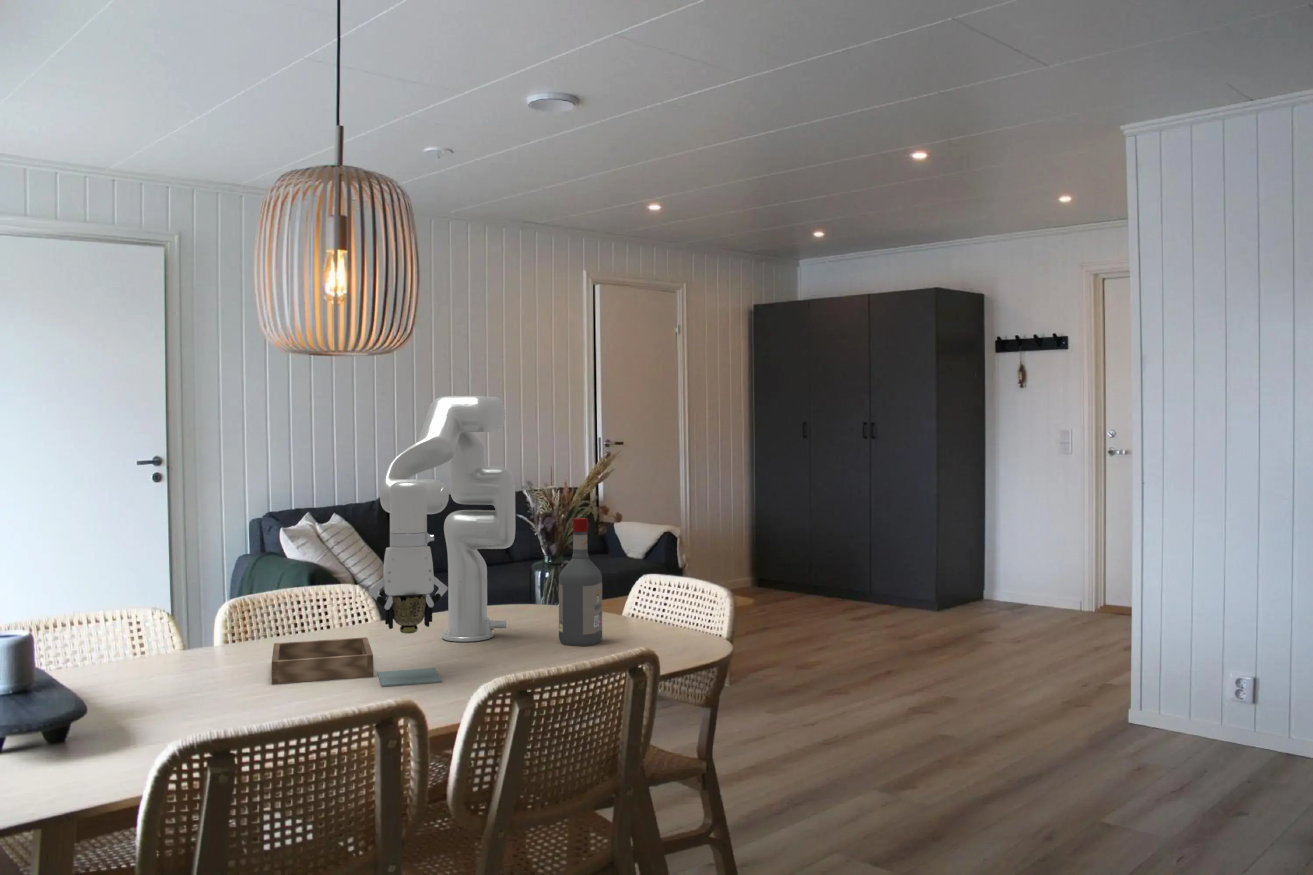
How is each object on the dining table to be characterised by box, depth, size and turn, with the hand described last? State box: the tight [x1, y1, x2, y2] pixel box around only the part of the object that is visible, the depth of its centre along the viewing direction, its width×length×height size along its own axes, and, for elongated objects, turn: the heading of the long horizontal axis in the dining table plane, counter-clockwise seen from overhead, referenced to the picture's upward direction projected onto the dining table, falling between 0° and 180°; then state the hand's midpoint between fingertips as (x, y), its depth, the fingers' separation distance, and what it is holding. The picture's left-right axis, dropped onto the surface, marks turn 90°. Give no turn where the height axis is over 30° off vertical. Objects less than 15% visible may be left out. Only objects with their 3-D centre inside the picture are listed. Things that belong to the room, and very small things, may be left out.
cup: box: [391, 595, 426, 635], centre depth 219 cm, size 8×7×8 cm
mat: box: [377, 667, 443, 688], centre depth 220 cm, size 12×12×1 cm
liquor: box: [558, 517, 603, 647], centre depth 256 cm, size 9×9×30 cm
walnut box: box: [271, 637, 374, 685], centre depth 227 cm, size 20×20×4 cm
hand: (408, 625), depth 219 cm, fingers closed on cup, 6 cm apart
